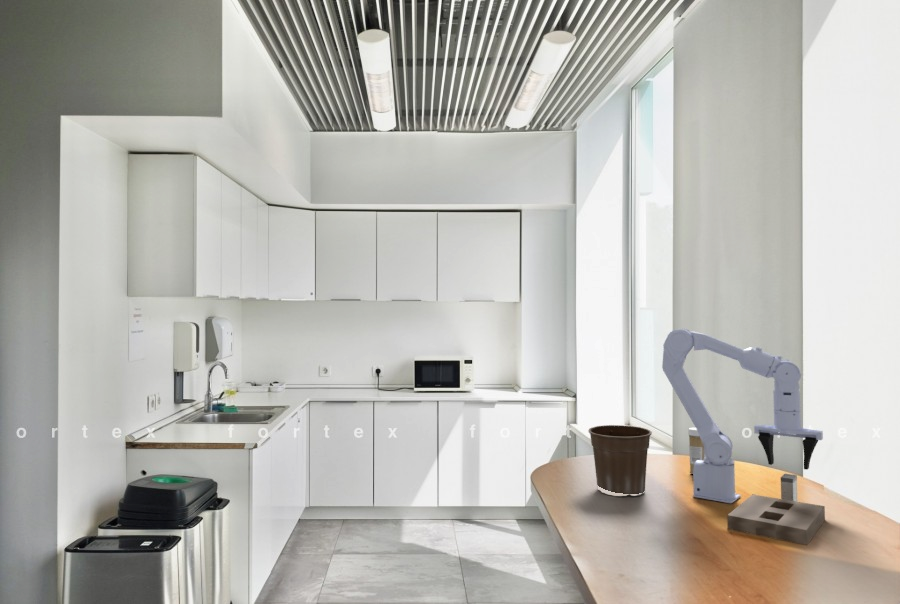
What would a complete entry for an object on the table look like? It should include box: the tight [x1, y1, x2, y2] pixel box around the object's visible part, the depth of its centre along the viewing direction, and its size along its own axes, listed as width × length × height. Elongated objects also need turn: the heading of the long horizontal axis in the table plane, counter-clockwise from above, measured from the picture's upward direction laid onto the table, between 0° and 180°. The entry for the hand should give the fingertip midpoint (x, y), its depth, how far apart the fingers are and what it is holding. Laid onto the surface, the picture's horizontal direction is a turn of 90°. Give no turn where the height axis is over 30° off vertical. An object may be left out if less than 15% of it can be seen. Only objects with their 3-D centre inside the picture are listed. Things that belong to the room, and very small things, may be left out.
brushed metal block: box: [780, 473, 798, 502], centre depth 147 cm, size 3×4×7 cm, turn 139°
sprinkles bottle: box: [688, 427, 706, 475], centre depth 177 cm, size 5×5×14 cm
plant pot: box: [587, 424, 653, 494], centre depth 161 cm, size 16×16×16 cm
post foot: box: [726, 494, 826, 546], centre depth 134 cm, size 15×20×3 cm
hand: (788, 466), depth 148 cm, fingers open, 7 cm apart
